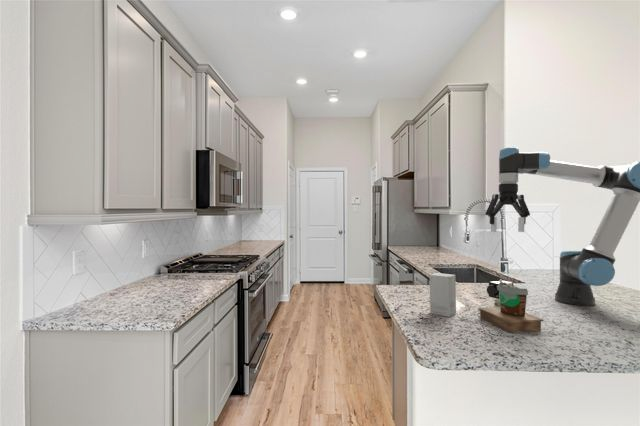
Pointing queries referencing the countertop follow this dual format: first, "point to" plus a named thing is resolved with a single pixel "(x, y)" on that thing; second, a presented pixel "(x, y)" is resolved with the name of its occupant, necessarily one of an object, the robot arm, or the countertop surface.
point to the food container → (512, 300)
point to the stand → (510, 320)
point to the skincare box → (442, 294)
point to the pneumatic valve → (496, 291)
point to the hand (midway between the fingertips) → (507, 232)
